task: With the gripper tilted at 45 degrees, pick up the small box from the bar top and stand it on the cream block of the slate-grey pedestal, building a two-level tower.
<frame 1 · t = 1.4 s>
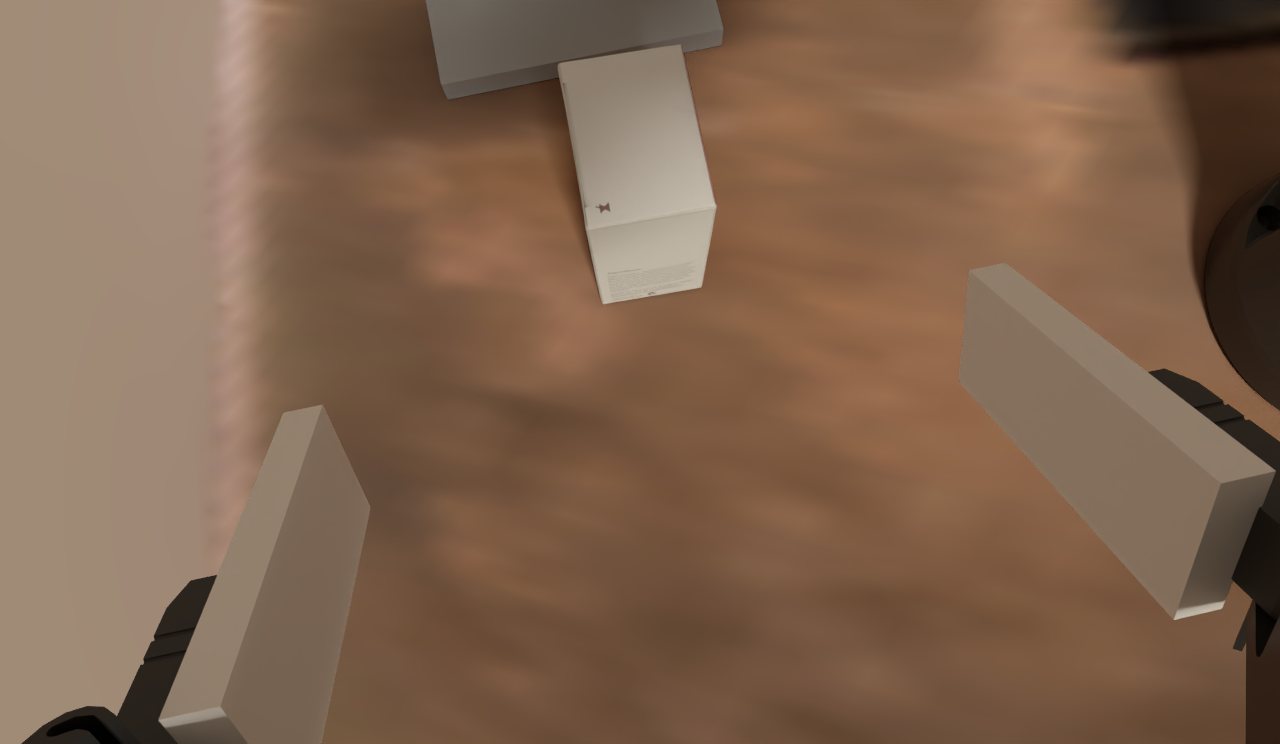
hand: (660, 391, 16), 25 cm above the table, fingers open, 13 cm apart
small box: (638, 231, 43), on the table
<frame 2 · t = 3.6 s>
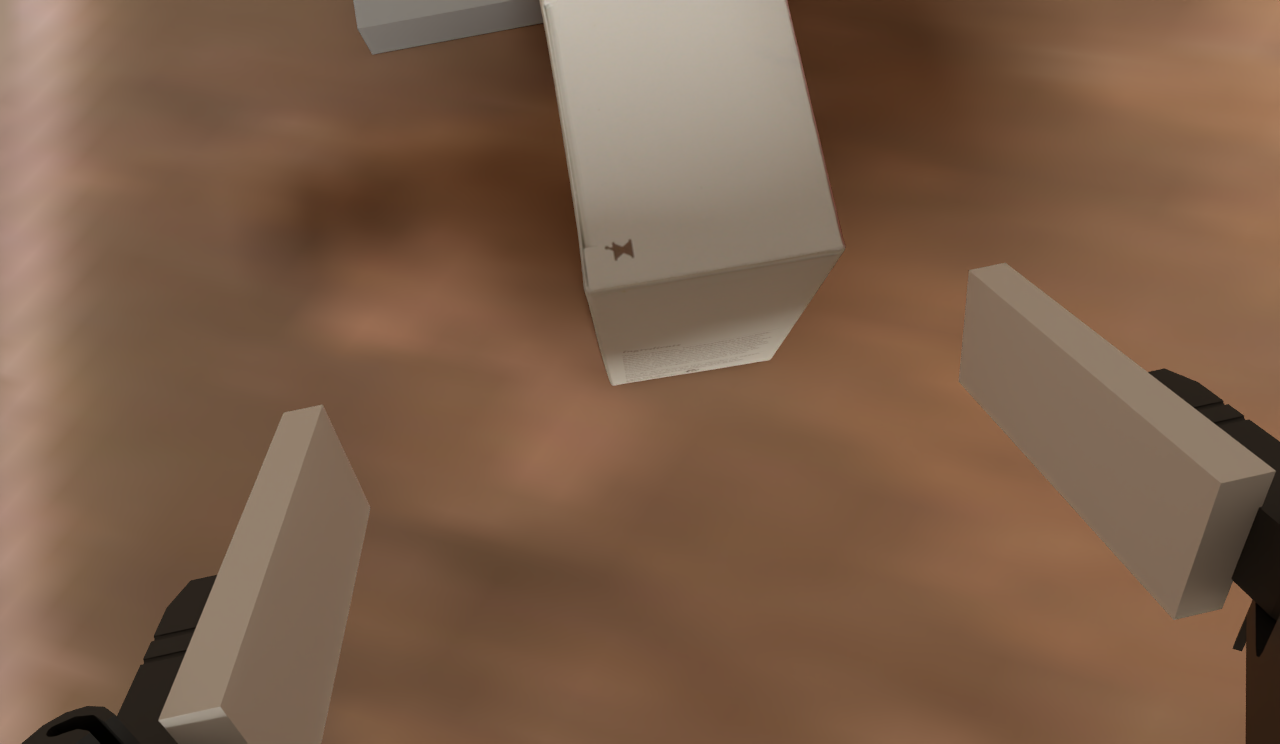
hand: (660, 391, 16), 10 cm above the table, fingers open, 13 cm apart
small box: (669, 265, 27), on the table
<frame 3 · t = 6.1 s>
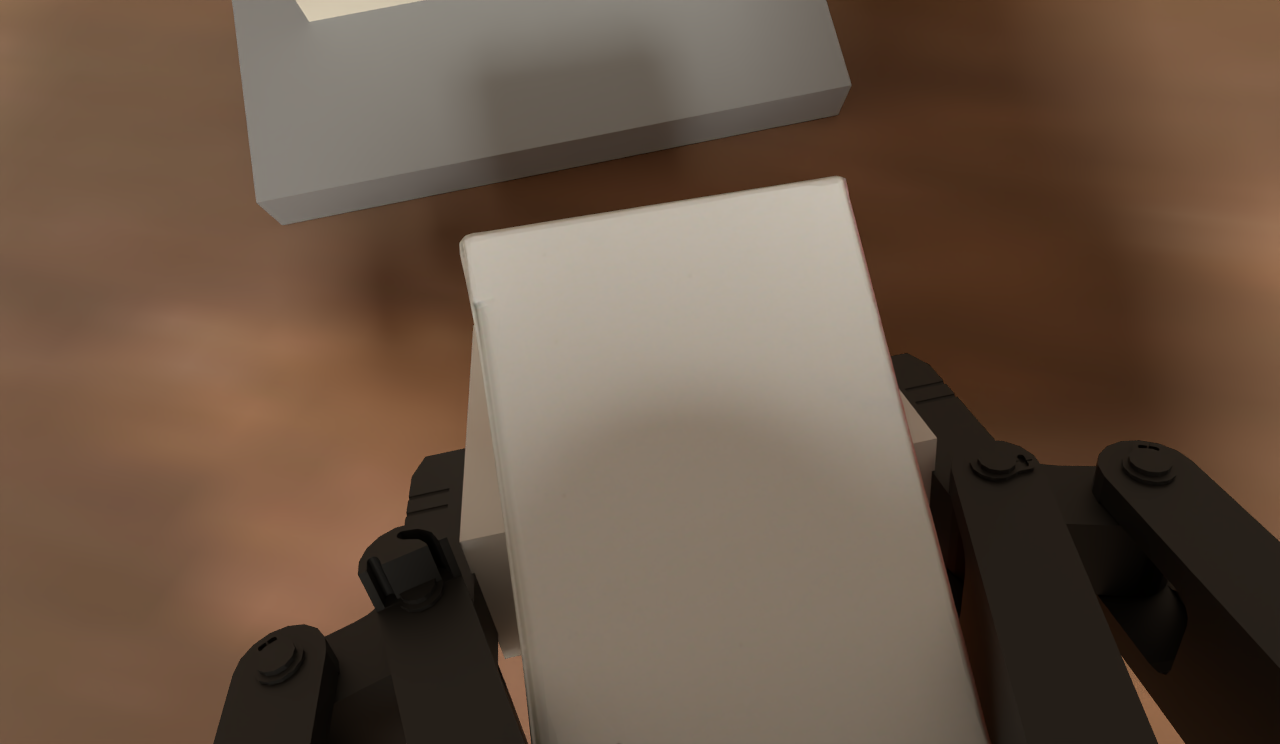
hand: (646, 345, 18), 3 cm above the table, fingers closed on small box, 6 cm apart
small box: (675, 512, 20), on the table, touching gripper
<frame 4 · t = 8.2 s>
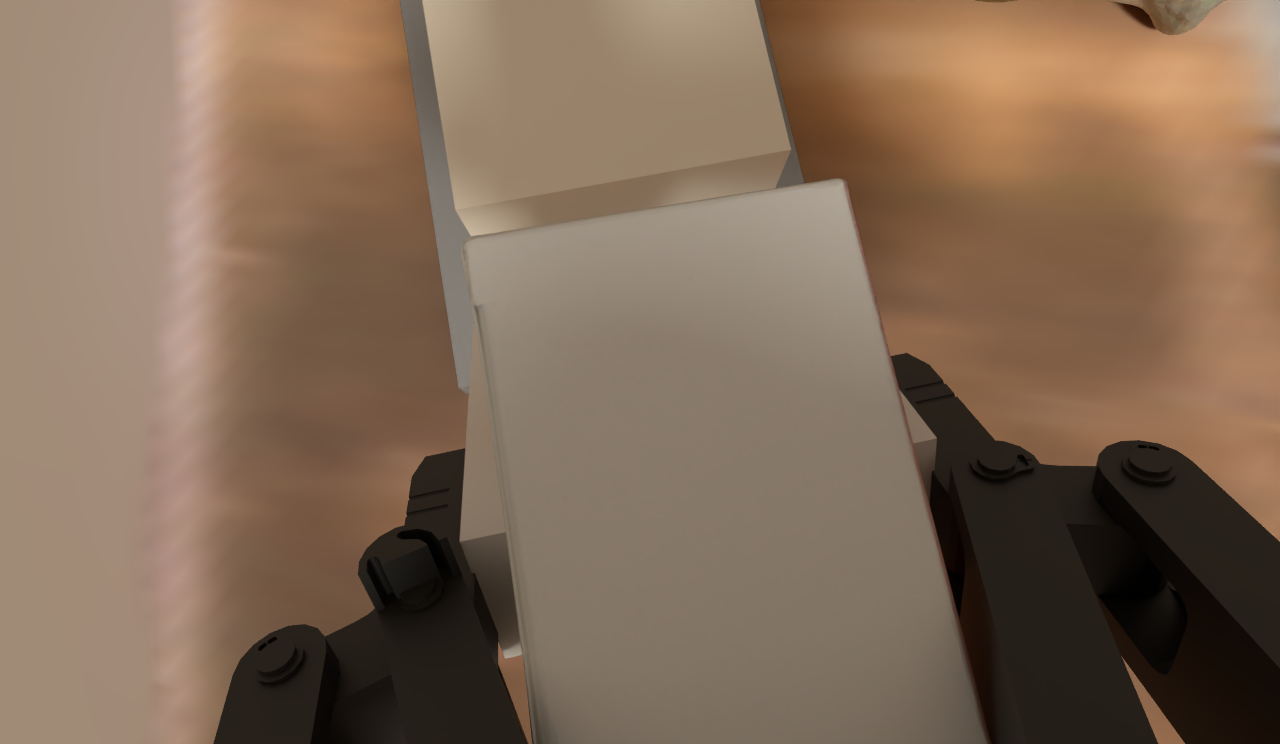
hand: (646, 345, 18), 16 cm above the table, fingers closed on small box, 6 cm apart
small box: (676, 513, 20), point 13 cm above the table, touching gripper
pedestal: (603, 128, 36), on the table
when the fingers open (12 cm above the table, at t = 10.3 s): small box drops 1 cm, resting on pedestal.
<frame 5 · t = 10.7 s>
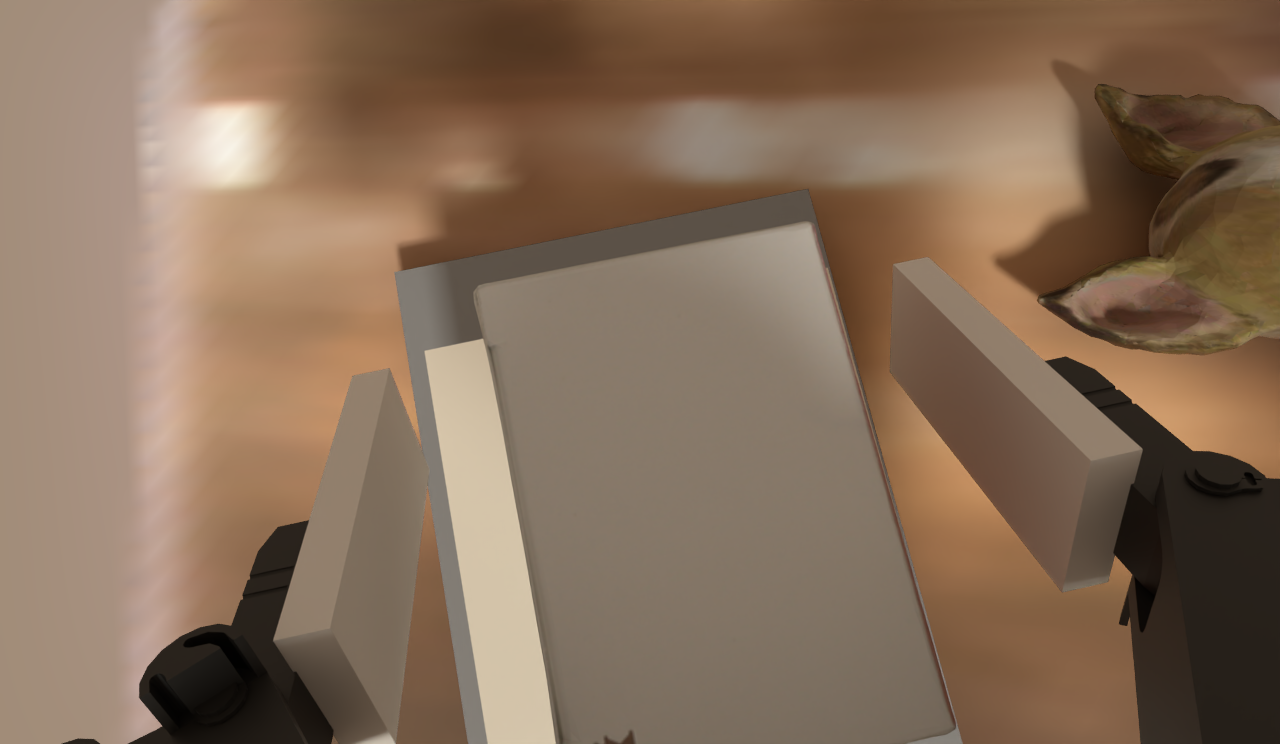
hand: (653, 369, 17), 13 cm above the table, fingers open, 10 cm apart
small box: (674, 518, 22), point 7 cm above the table, touching pedestal
ceramic sculpture: (1216, 275, 31), on the table
pedestal: (665, 519, 29), on the table
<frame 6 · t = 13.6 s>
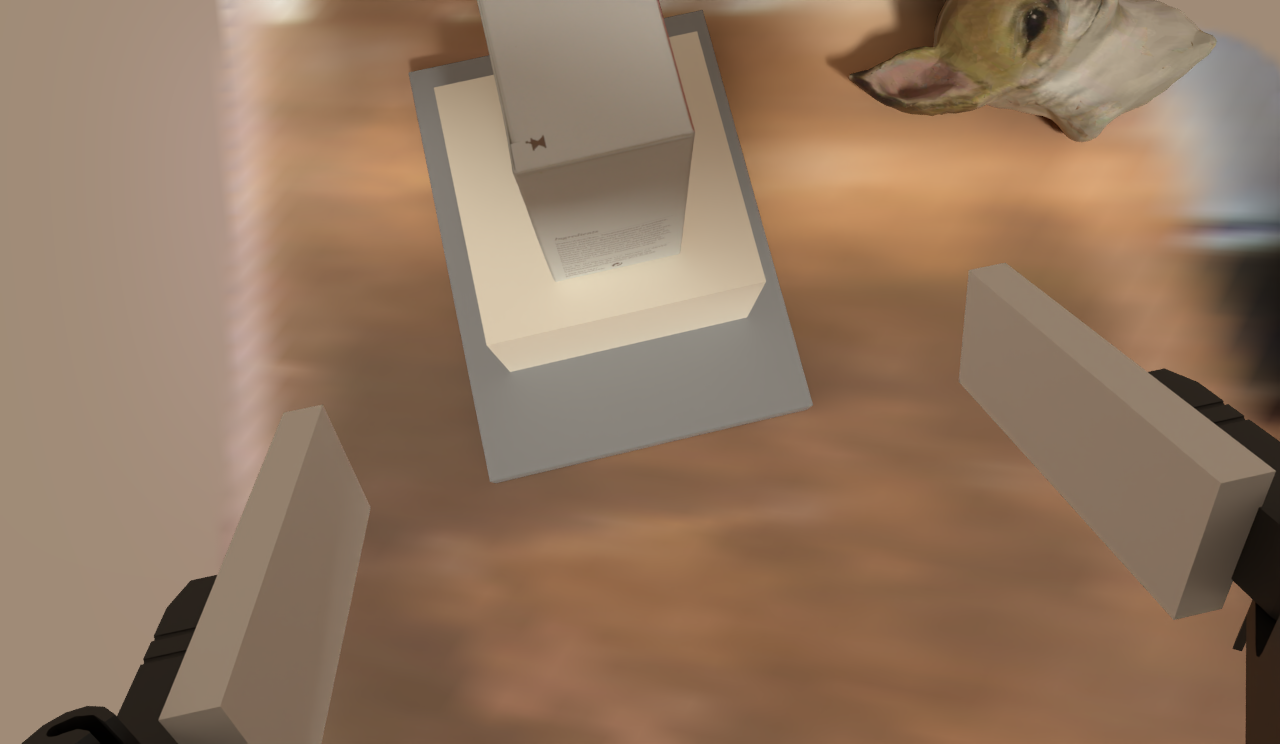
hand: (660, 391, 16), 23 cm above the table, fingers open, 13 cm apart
small box: (596, 186, 34), point 7 cm above the table, touching pedestal
ceramic sculpture: (990, 77, 43), on the table
pedestal: (603, 242, 41), on the table
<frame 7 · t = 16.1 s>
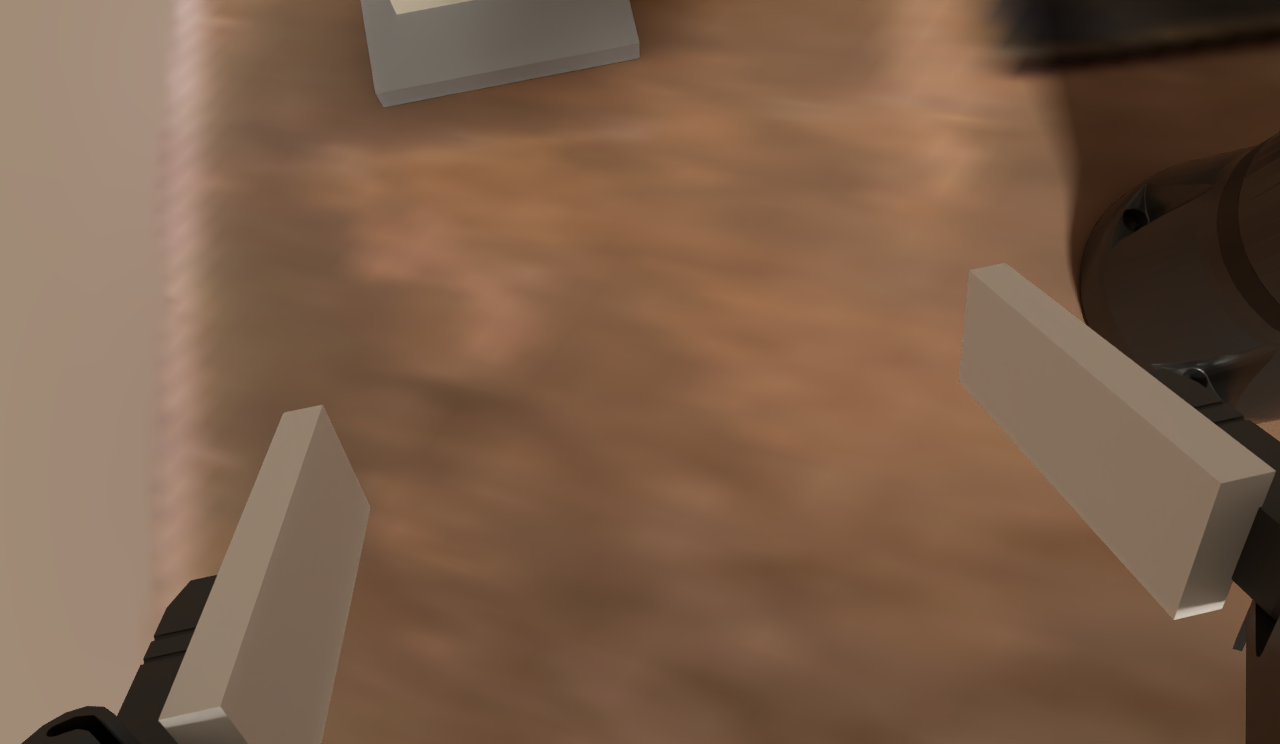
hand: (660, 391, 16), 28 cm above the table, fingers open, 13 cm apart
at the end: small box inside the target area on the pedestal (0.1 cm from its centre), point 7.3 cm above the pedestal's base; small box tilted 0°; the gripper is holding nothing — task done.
